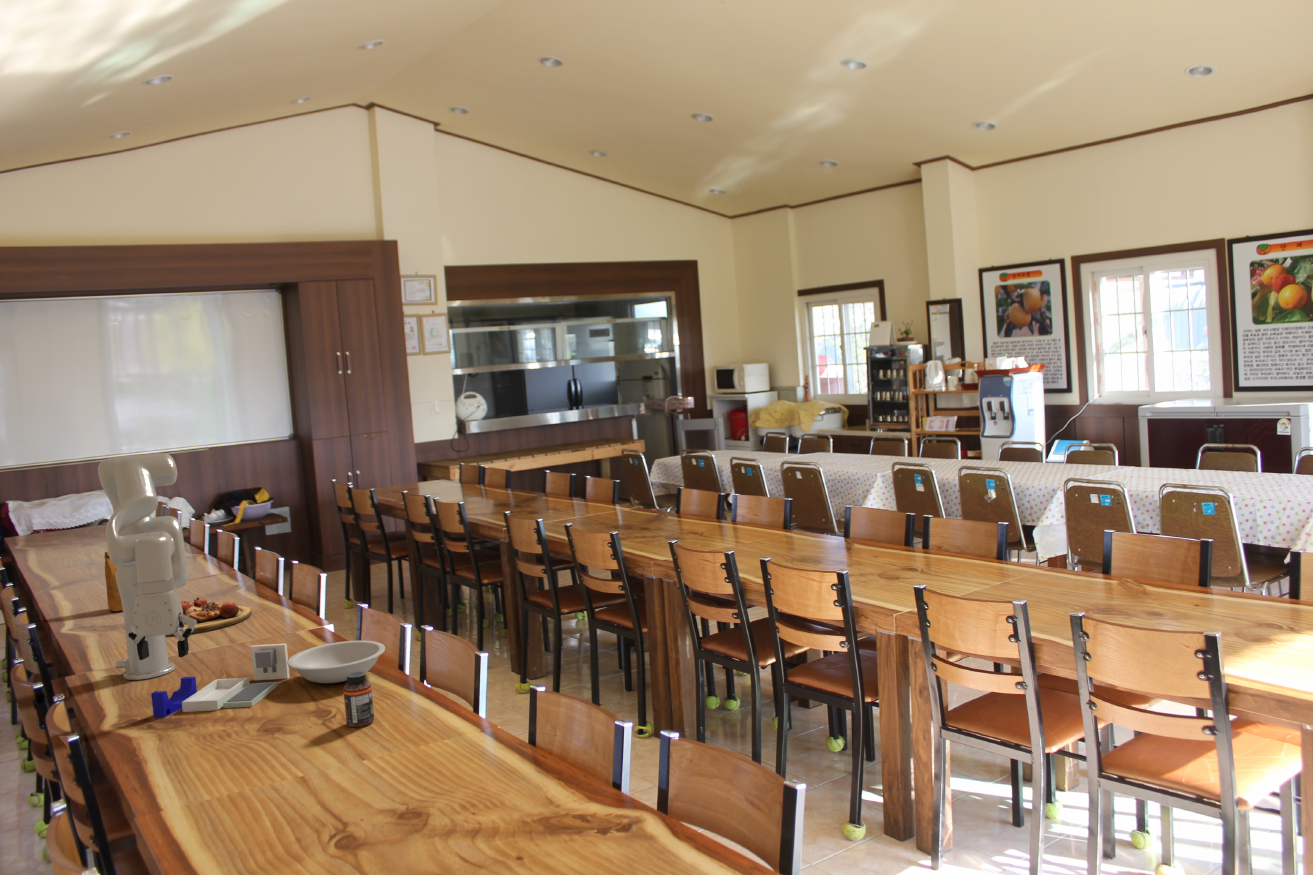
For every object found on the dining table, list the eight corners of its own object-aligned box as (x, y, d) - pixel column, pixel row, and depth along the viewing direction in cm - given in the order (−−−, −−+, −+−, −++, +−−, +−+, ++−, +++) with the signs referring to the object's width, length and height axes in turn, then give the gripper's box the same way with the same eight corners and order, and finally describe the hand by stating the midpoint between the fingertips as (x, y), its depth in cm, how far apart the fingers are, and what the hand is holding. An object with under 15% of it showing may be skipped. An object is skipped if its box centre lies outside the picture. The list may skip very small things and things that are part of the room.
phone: (223, 707, 228) (223, 702, 228) (250, 688, 242) (249, 682, 242) (252, 706, 227) (251, 700, 227) (277, 686, 241) (276, 681, 241)
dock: (182, 711, 227) (181, 702, 227) (216, 688, 243) (216, 679, 243) (218, 709, 226) (217, 700, 226) (249, 686, 243) (248, 677, 243)
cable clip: (181, 700, 236) (179, 676, 236) (197, 700, 236) (195, 676, 235) (148, 717, 224) (145, 693, 224) (165, 718, 224) (162, 693, 223)
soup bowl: (405, 665, 252) (403, 641, 252) (348, 697, 230) (346, 670, 229) (330, 662, 260) (328, 638, 260) (268, 692, 238) (266, 666, 237)
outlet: (248, 684, 245) (244, 650, 244) (256, 678, 249) (252, 645, 249) (282, 682, 245) (279, 648, 244) (289, 676, 249) (286, 643, 248)
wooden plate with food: (271, 615, 320) (269, 591, 320) (181, 640, 294) (178, 614, 293) (216, 609, 338) (214, 586, 337) (126, 632, 311) (123, 607, 311)
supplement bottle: (345, 721, 213) (340, 672, 212) (372, 716, 215) (368, 667, 215) (347, 730, 208) (343, 679, 207) (376, 724, 210) (371, 674, 209)
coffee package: (151, 607, 344) (145, 547, 342) (112, 614, 336) (106, 553, 334) (144, 603, 352) (138, 544, 350) (106, 610, 343) (100, 550, 342)
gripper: (111, 593, 224) (119, 664, 225) (183, 588, 224) (190, 659, 225) (130, 586, 232) (137, 655, 233) (199, 581, 231) (206, 650, 232)
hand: (163, 657), depth 229 cm, fingers open, 9 cm apart
